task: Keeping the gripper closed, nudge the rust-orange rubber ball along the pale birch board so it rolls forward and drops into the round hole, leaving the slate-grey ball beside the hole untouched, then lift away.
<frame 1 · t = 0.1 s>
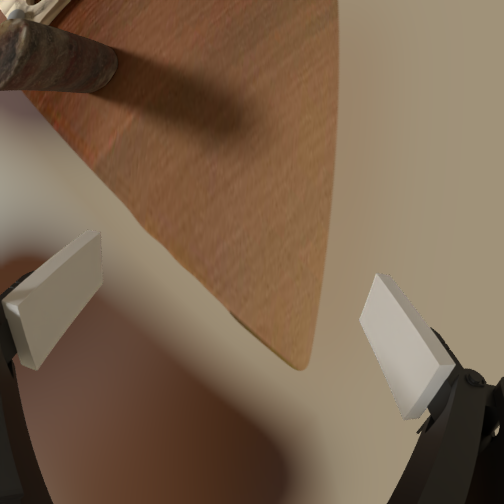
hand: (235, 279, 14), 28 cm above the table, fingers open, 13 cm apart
grey ball: (15, 17, 25), point 4 cm above the table, touching board
candle: (95, 69, 34), on the table
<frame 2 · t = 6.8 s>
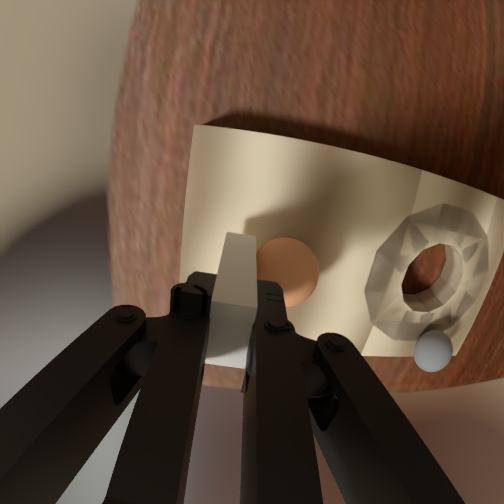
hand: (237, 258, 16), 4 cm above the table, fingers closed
grey ball: (433, 351, 19), point 4 cm above the table, touching board
board: (358, 254, 20), on the table
orange ball: (284, 272, 16), point 4 cm above the table, touching board, gripper
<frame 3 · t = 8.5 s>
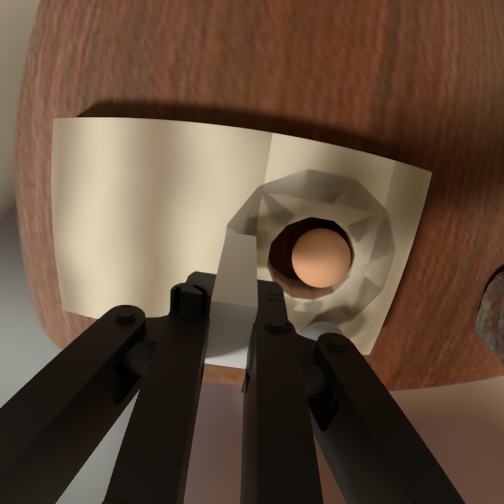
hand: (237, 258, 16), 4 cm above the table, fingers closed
grey ball: (321, 345, 18), point 4 cm above the table, touching board
board: (227, 232, 20), on the table
orange ball: (321, 257, 18), point 2 cm above the table, tilted 6°
candle: (496, 299, 22), on the table
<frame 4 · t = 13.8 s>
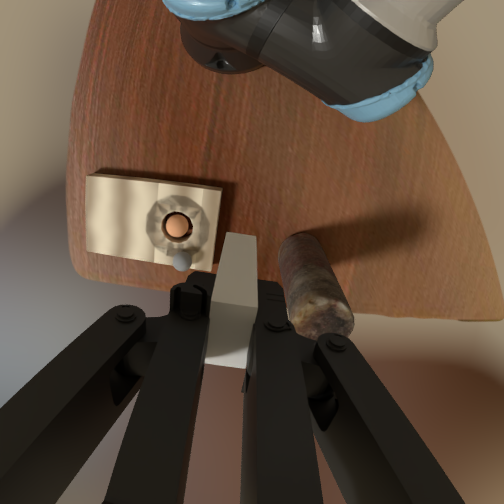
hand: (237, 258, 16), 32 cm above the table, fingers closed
grey ball: (182, 261, 48), point 4 cm above the table, touching board
board: (150, 218, 49), on the table
orange ball: (177, 225, 48), point 2 cm above the table, tilted 22°
candle: (299, 253, 52), on the table
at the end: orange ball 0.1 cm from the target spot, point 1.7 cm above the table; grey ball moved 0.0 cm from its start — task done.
